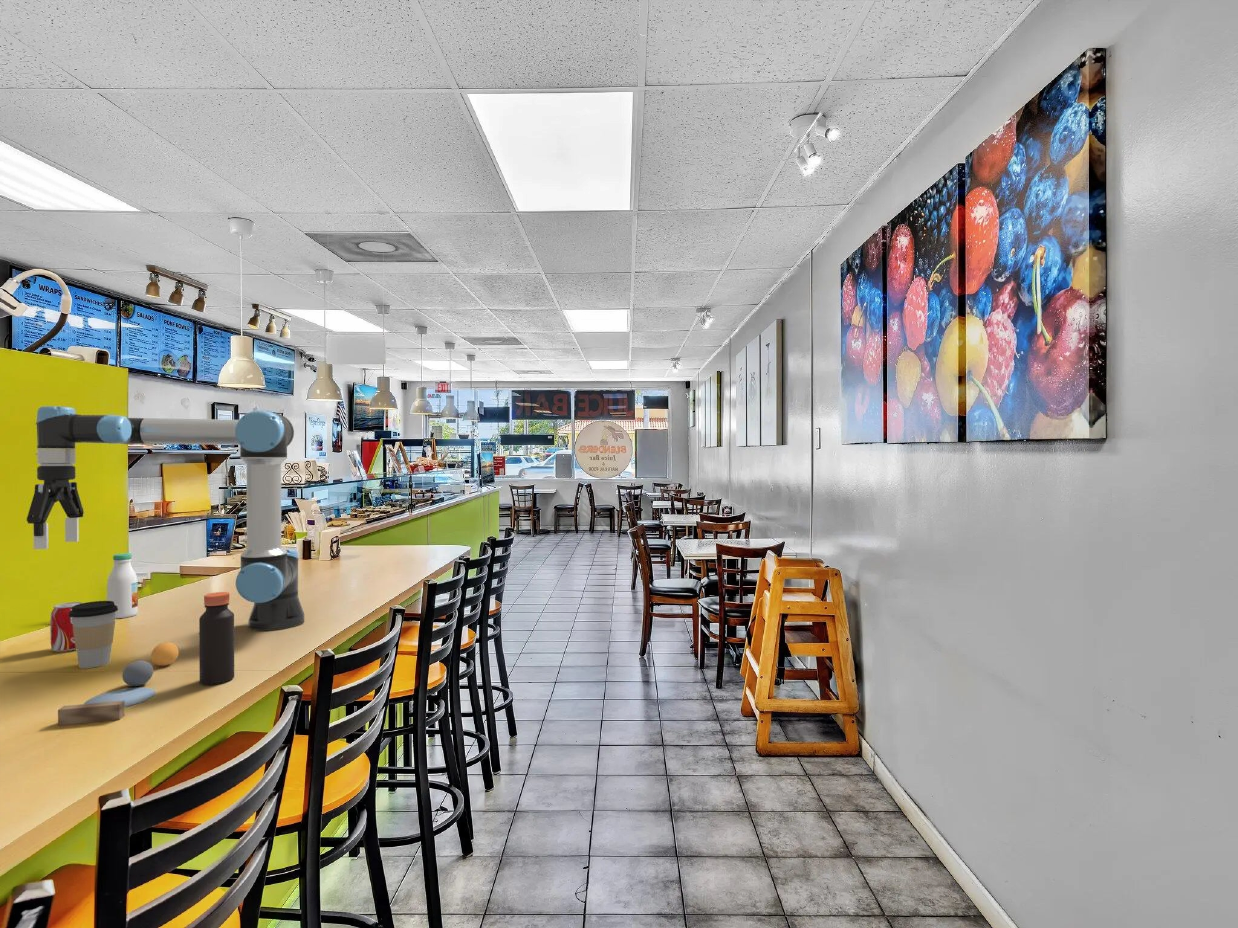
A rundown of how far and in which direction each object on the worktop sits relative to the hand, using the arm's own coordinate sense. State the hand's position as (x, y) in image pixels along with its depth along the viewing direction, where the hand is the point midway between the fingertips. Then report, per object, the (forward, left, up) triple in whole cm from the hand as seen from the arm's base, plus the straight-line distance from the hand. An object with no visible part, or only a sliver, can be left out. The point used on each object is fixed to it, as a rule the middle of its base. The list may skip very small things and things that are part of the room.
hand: (57, 545), depth 163 cm
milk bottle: (+1, -36, -28) cm, 46 cm away
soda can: (-2, 0, -28) cm, 28 cm away
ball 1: (-32, +35, -25) cm, 54 cm away
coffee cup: (-15, +16, -28) cm, 36 cm away
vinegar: (-48, +36, -28) cm, 66 cm away
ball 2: (-32, +21, -25) cm, 46 cm away
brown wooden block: (-32, +54, -28) cm, 69 cm away
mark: (-32, +43, -28) cm, 60 cm away
